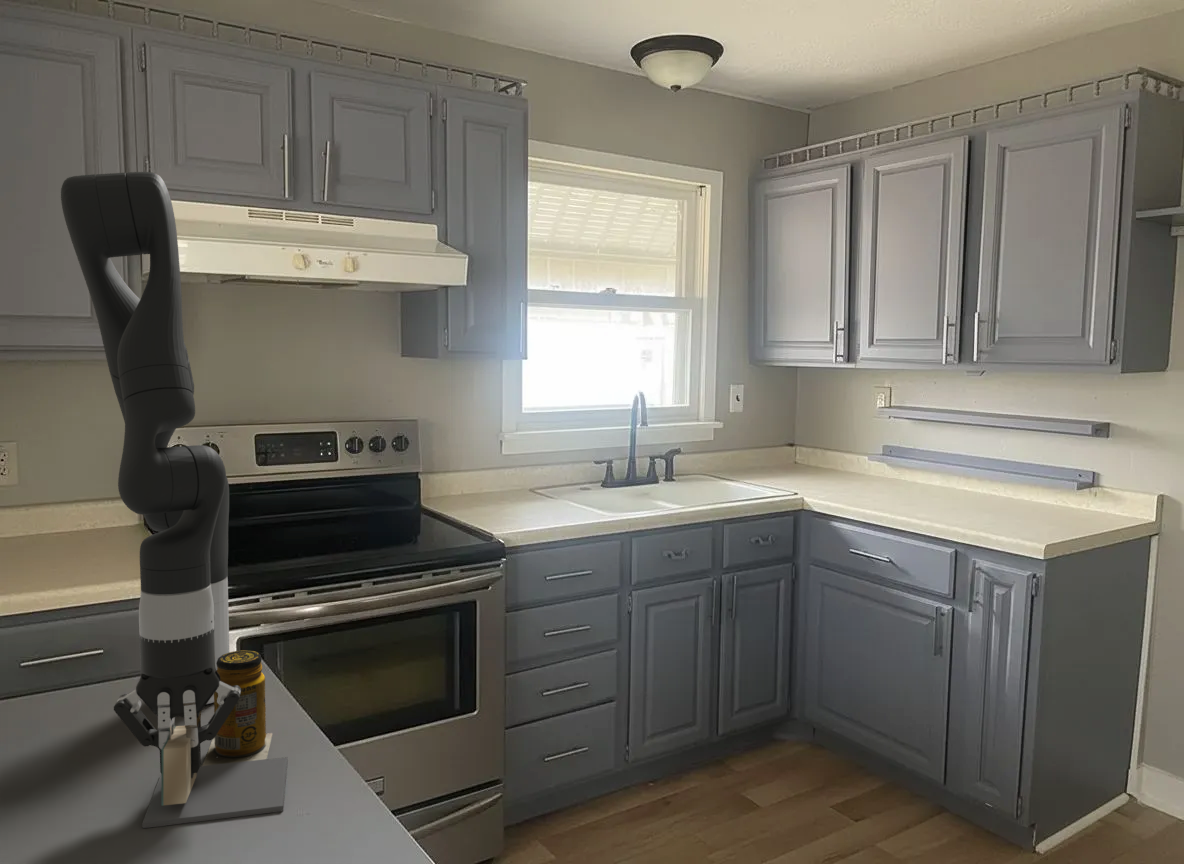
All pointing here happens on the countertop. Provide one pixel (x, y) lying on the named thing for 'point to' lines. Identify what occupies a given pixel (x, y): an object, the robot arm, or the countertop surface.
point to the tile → (176, 768)
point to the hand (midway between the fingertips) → (181, 776)
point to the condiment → (241, 712)
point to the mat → (225, 793)
